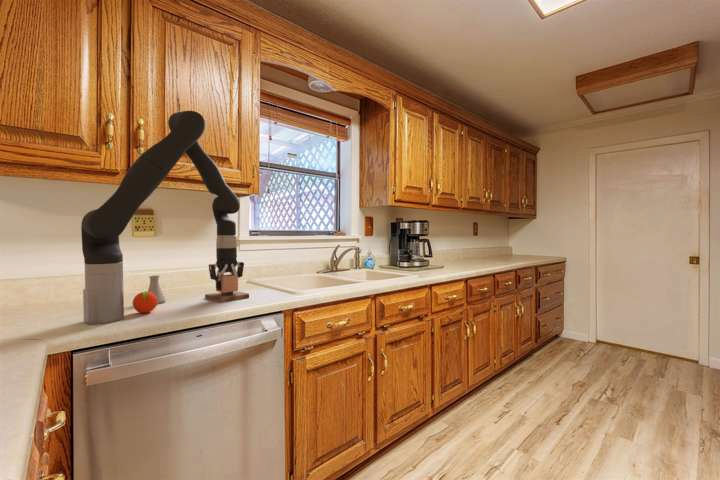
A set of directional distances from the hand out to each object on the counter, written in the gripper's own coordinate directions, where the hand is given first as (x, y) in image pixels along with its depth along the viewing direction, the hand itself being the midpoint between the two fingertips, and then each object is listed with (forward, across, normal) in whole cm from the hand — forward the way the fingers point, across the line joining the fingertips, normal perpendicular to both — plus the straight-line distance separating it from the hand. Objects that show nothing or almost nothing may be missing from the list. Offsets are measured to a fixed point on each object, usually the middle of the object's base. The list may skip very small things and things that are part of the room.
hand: (227, 289), depth 138 cm
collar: (+1, 0, 0) cm, 1 cm away
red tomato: (+4, -30, -3) cm, 30 cm away
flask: (+4, -22, +12) cm, 25 cm away
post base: (+4, 0, 0) cm, 4 cm away
